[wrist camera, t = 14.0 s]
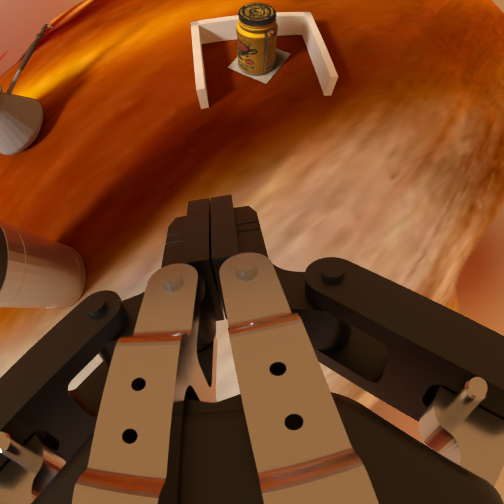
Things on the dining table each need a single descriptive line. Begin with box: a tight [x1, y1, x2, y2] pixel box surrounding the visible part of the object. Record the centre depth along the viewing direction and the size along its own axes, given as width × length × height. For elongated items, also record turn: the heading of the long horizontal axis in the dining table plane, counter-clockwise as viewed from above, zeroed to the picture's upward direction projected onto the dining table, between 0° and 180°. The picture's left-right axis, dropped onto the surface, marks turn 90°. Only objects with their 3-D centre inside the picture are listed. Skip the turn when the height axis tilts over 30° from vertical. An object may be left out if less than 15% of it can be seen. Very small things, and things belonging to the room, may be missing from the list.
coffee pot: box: [0, 24, 55, 155], centre depth 38 cm, size 21×12×15 cm, turn 141°
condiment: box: [227, 3, 290, 84], centre depth 40 cm, size 7×8×12 cm
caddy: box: [191, 12, 338, 109], centre depth 44 cm, size 20×16×5 cm
